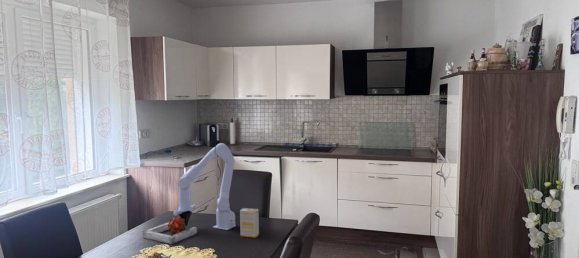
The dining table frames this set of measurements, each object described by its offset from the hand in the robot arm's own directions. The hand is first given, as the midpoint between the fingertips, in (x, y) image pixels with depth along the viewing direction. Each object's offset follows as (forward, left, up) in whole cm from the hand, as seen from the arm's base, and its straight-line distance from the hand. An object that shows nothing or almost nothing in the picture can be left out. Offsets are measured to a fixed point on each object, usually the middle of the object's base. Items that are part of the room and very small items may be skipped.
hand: (185, 225), depth 199 cm
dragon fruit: (0, +6, -2) cm, 7 cm away
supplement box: (-35, -7, -2) cm, 36 cm away
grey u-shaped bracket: (0, +10, -2) cm, 10 cm away
